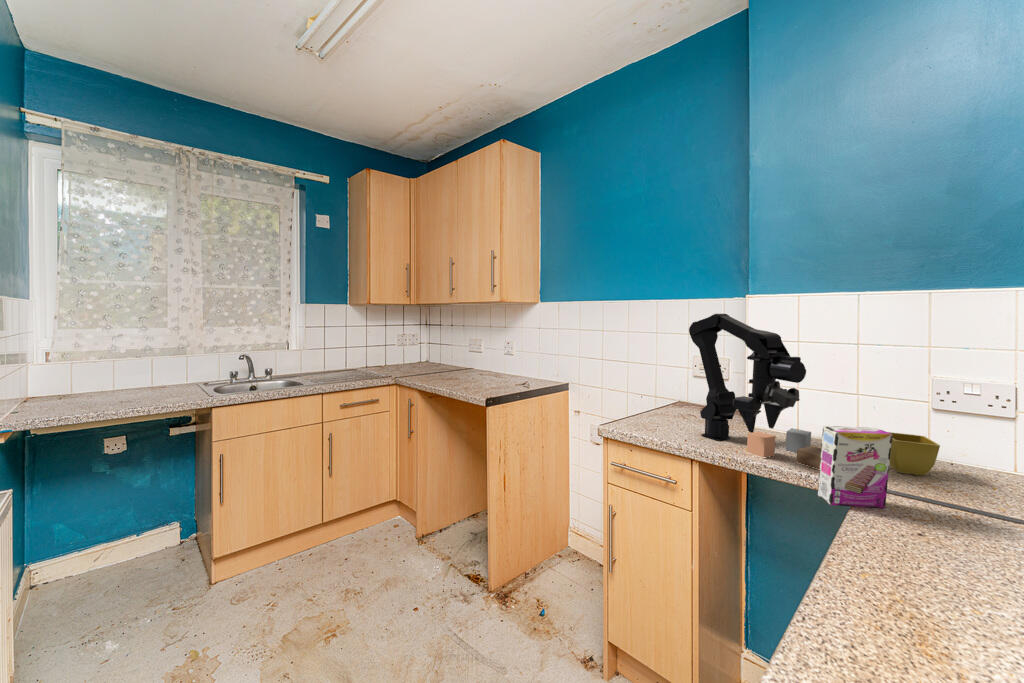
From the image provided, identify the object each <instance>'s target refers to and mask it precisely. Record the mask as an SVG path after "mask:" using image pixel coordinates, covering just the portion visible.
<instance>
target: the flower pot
mask: <svg viewBox="0 0 1024 683" xmlns="http://www.w3.org/2000/svg"><path fill="white" fill-rule="evenodd" d="M887 432H888V433H890V434H892V442H891V453H890V464H889V466H890V467H891V468H892V469H894V470H895V471H896V472H897V473H900V474H906V475H907V474H908V475H915V476H920V477H923V476H925V475H927V474H928V473H929V472H930V471H931V470H932V469H933V467H934V466H935V464H936V461H937V457H938V454H939V451H940V447H941V444H939V443H937V442H936V441H933V440H932V439H930V438H929V437H927V436H925V435H917V434H909V433H900V432H899V433H898V432H891V431H890V432H889V431H887Z"/></svg>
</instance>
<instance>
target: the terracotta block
mask: <svg viewBox="0 0 1024 683" xmlns="http://www.w3.org/2000/svg"><path fill="white" fill-rule="evenodd" d="M746 444H747V445H746V453H747V452H749V453H752V454H755V455H758V456H761V457H769V456H773V457H775V456H774V455H775V454H776V453H775V452H776V435H774V434H771V433H766V432H763V431H759V430H758V431H754V432H753V433H751V432H749V433H747V443H746ZM769 458H770V457H769Z"/></svg>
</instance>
